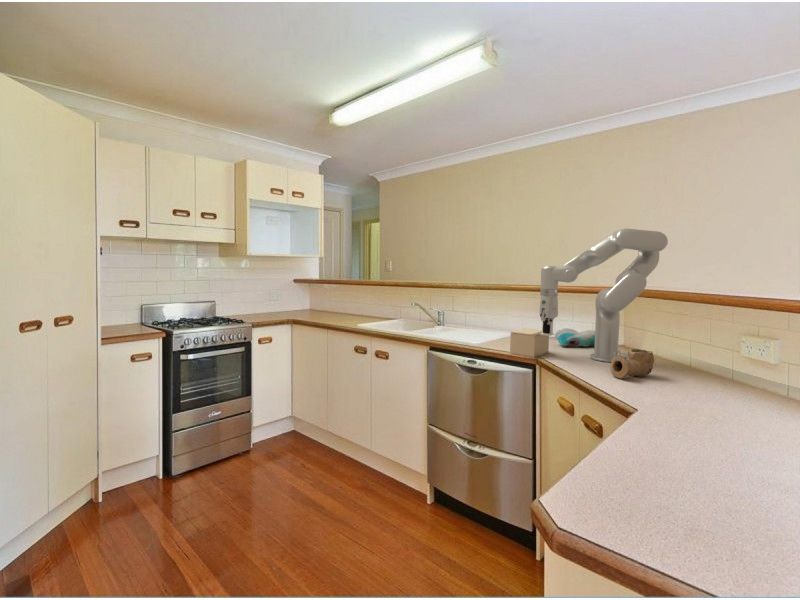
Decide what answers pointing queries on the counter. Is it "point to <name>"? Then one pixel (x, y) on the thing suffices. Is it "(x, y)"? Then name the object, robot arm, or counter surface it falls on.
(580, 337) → the athletic shoe
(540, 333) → the lid flap
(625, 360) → the pipe
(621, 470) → the counter surface
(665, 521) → the counter surface
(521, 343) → the carton
